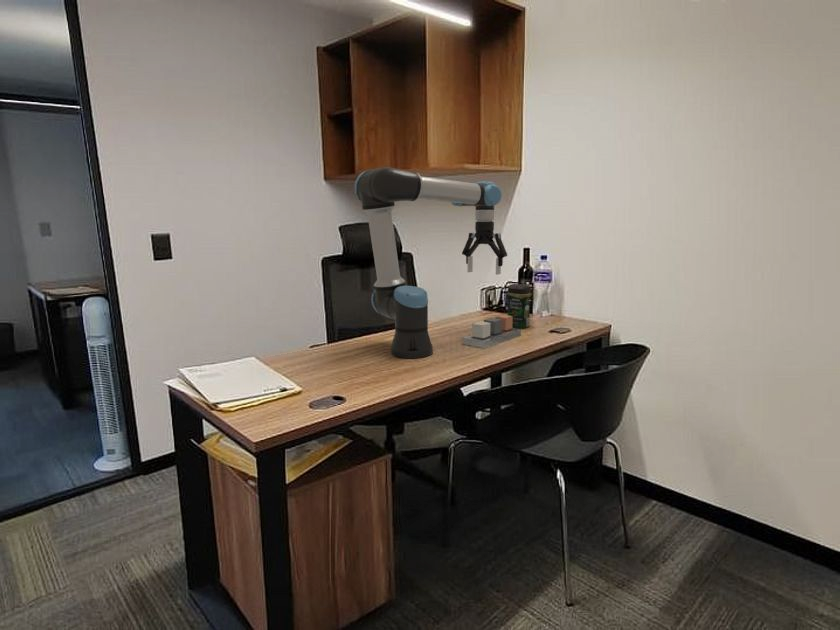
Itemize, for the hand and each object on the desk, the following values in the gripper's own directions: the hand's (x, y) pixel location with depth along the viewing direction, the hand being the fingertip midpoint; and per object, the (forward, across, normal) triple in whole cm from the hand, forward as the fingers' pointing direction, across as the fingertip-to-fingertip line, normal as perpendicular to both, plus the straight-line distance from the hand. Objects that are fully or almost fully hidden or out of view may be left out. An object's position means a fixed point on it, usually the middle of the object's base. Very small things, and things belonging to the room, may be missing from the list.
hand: (483, 273), depth 214 cm
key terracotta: (+21, -12, +4) cm, 25 cm away
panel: (+24, -12, +12) cm, 29 cm away
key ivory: (+21, -11, +20) cm, 31 cm away
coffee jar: (+24, -9, -14) cm, 30 cm away
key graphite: (+21, -12, +12) cm, 27 cm away
